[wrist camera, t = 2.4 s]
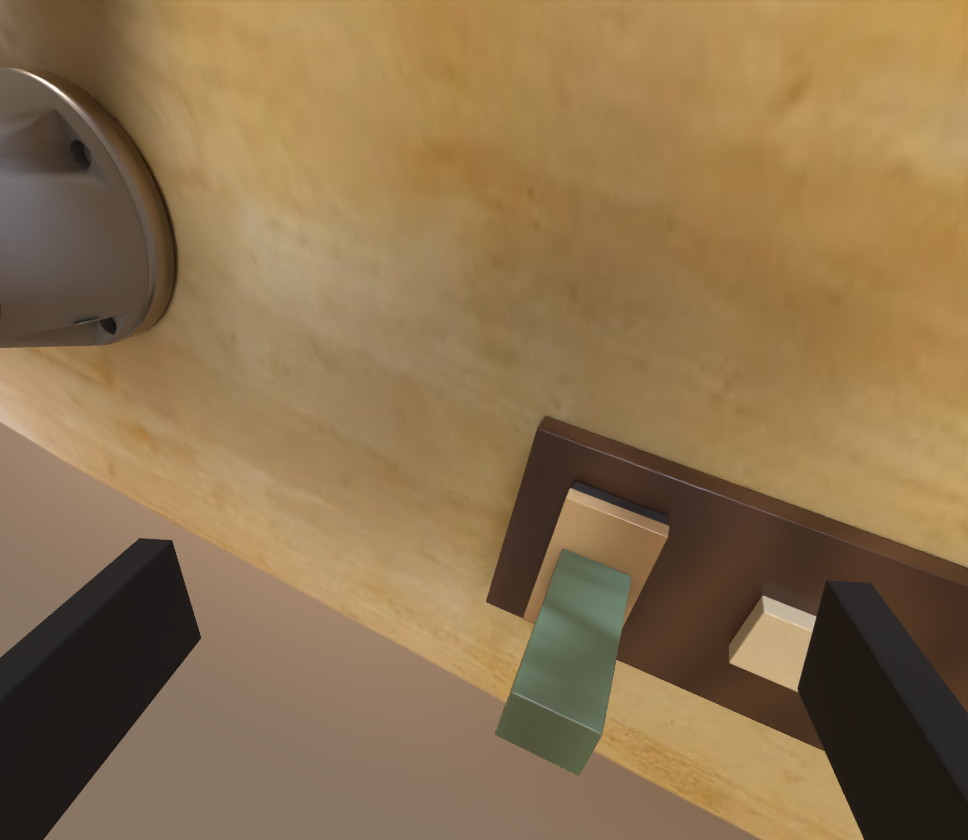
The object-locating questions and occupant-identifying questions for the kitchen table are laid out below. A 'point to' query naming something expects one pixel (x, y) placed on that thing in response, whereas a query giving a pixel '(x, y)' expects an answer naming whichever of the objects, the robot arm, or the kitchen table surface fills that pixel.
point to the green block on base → (579, 624)
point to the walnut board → (726, 571)
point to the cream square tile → (773, 642)
